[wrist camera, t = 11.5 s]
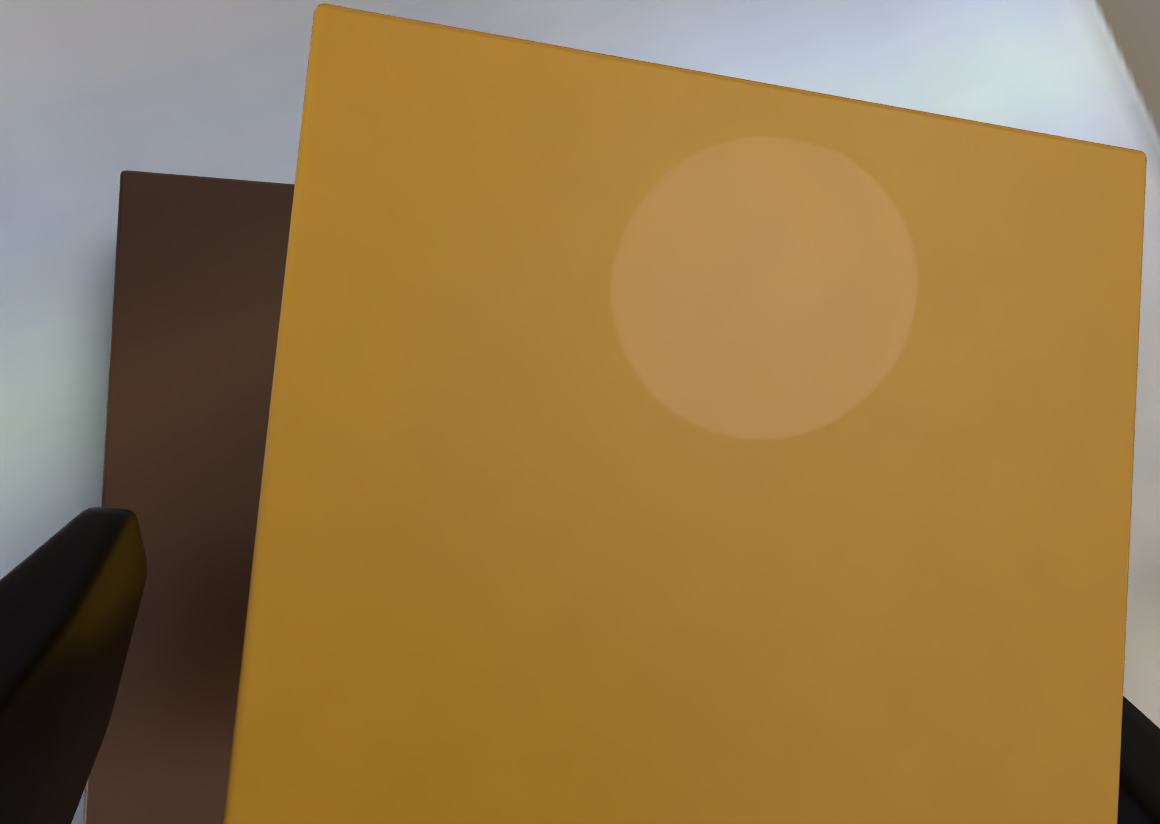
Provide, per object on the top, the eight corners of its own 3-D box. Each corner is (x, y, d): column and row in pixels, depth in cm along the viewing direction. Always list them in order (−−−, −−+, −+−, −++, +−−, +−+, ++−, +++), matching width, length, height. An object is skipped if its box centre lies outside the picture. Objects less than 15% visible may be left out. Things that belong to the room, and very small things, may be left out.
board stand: (730, 964, 21) (800, 1080, 17) (136, 1018, 19) (61, 1169, 15) (742, 265, 22) (811, 226, 18) (179, 225, 20) (118, 168, 16)
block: (617, 604, 17) (1113, 987, 5) (367, 589, 16) (200, 1018, 4) (637, 362, 17) (1152, 148, 5) (392, 335, 17) (315, -2, 4)
